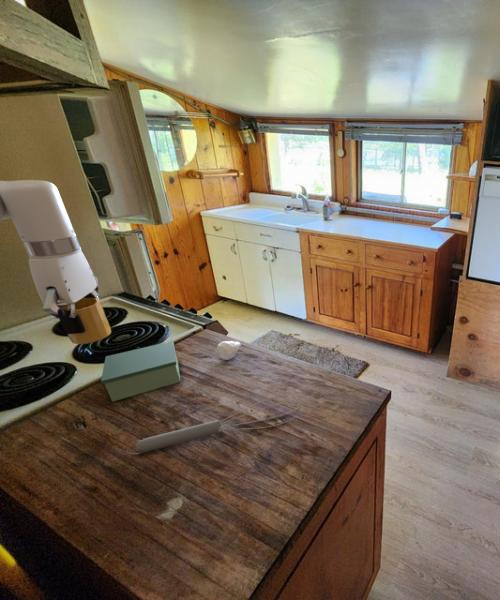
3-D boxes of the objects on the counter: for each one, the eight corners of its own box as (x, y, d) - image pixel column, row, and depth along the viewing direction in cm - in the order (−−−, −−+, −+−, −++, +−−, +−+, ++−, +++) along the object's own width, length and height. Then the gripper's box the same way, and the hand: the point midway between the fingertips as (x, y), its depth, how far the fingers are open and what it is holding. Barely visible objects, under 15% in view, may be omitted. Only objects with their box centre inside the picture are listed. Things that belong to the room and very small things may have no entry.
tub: (110, 403, 78) (100, 381, 75) (114, 377, 86) (105, 356, 83) (182, 382, 85) (175, 361, 83) (178, 360, 94) (173, 340, 91)
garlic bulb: (247, 352, 99) (244, 336, 97) (231, 362, 94) (228, 346, 92) (233, 347, 101) (230, 332, 98) (217, 358, 96) (213, 342, 93)
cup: (63, 345, 70) (48, 312, 66) (83, 330, 75) (69, 298, 72) (101, 342, 71) (87, 310, 68) (117, 327, 77) (105, 296, 74)
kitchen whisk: (133, 442, 68) (123, 420, 65) (300, 407, 79) (298, 387, 77) (122, 467, 63) (111, 444, 60) (302, 426, 74) (300, 404, 71)
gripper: (59, 236, 71) (89, 308, 79) (-8, 260, 56) (37, 347, 64) (100, 235, 73) (125, 306, 81) (45, 258, 58) (83, 343, 65)
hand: (86, 323), depth 72 cm, fingers closed on cup, 6 cm apart
